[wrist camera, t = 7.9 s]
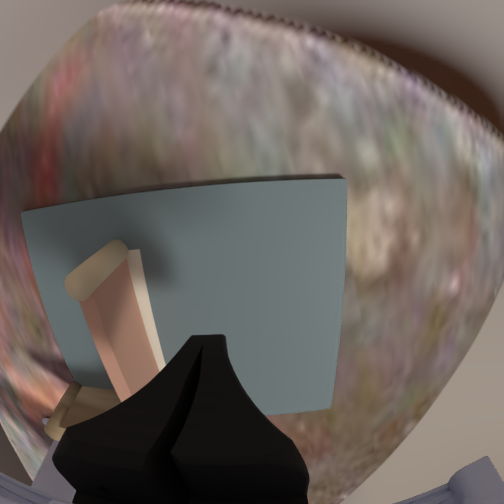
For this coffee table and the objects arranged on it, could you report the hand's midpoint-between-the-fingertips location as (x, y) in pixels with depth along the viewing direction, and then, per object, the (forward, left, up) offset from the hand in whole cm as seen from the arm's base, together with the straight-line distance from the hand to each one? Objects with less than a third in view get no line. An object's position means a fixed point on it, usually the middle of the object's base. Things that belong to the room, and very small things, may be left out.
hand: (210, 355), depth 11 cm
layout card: (-1, +2, -5) cm, 6 cm away
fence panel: (-1, +5, -4) cm, 6 cm away
